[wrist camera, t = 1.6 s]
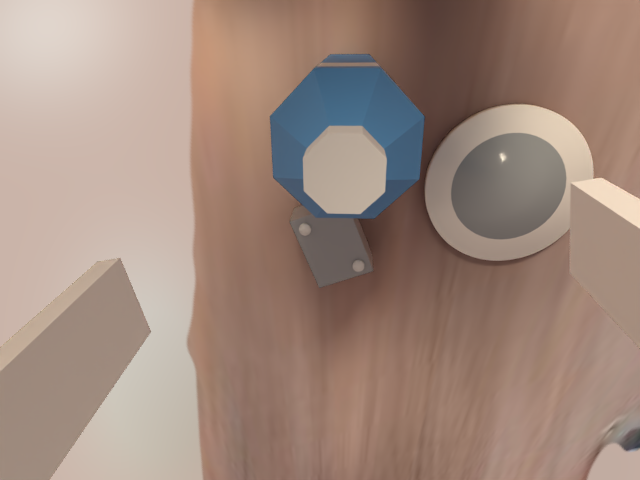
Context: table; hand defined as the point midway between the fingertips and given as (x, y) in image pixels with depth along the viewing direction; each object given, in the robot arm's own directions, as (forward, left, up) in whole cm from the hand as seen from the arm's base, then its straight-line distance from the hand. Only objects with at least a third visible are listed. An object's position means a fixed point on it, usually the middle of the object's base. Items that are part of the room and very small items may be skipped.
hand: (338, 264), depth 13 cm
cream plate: (+11, +14, -34) cm, 38 cm away
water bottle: (0, 0, -34) cm, 34 cm away
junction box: (+13, -4, -34) cm, 36 cm away
